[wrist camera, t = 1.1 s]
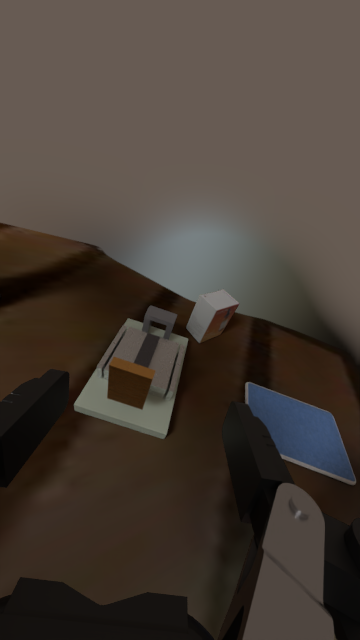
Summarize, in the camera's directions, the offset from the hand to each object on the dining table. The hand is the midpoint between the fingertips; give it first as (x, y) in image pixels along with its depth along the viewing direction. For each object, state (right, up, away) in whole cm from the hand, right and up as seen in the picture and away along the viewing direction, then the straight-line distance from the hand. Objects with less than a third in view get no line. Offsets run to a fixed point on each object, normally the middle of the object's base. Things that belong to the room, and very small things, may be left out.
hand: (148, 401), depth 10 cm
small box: (+7, +1, +40) cm, 41 cm away
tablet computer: (+23, -17, +28) cm, 40 cm away
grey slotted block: (-5, -4, +26) cm, 27 cm away
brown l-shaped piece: (-5, -3, +22) cm, 23 cm away
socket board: (-6, -6, +28) cm, 29 cm away
